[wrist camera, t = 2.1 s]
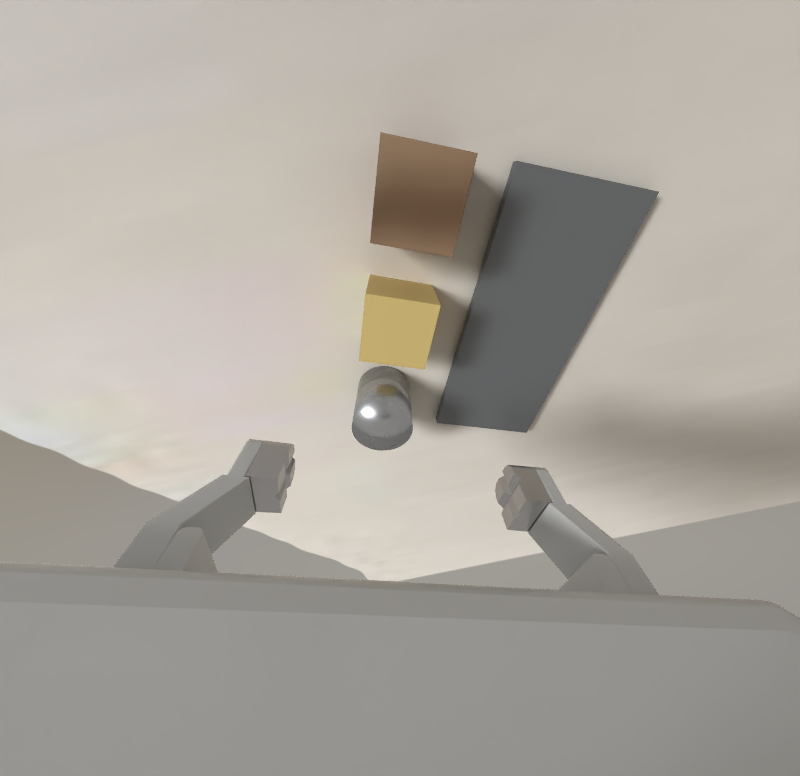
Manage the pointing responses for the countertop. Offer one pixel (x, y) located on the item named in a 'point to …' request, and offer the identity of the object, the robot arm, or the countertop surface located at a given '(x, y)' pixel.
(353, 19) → the countertop surface
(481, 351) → the rubber mat
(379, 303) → the mustard block
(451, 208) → the walnut block
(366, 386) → the metal canister
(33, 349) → the countertop surface
